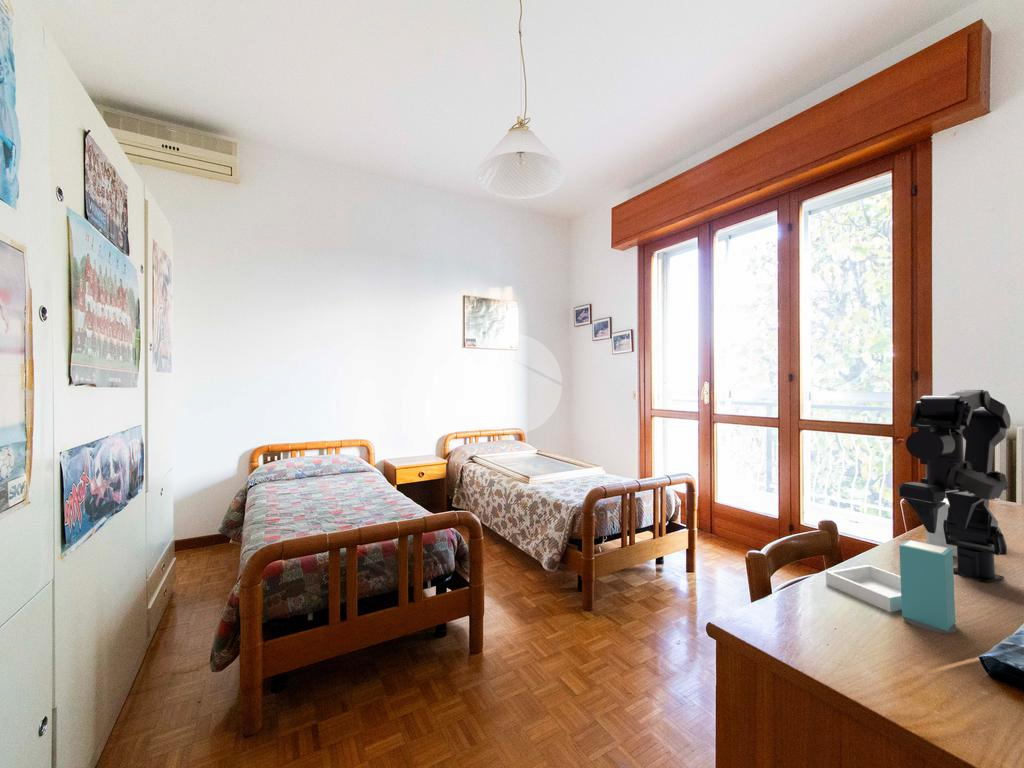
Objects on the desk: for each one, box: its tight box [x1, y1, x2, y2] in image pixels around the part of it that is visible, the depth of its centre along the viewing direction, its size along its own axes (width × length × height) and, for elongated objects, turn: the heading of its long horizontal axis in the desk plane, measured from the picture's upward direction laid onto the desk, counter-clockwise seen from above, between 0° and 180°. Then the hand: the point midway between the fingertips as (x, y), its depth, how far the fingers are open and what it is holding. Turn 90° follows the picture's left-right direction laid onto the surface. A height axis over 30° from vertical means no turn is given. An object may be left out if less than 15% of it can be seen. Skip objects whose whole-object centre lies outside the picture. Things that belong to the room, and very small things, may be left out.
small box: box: [925, 498, 957, 558], centre depth 112 cm, size 8×6×13 cm
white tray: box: [825, 564, 902, 613], centre depth 89 cm, size 13×13×3 cm
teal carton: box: [899, 539, 956, 631], centre depth 78 cm, size 5×6×13 cm
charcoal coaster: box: [902, 616, 957, 635], centre depth 78 cm, size 7×7×1 cm
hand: (947, 530), depth 89 cm, fingers open, 9 cm apart
